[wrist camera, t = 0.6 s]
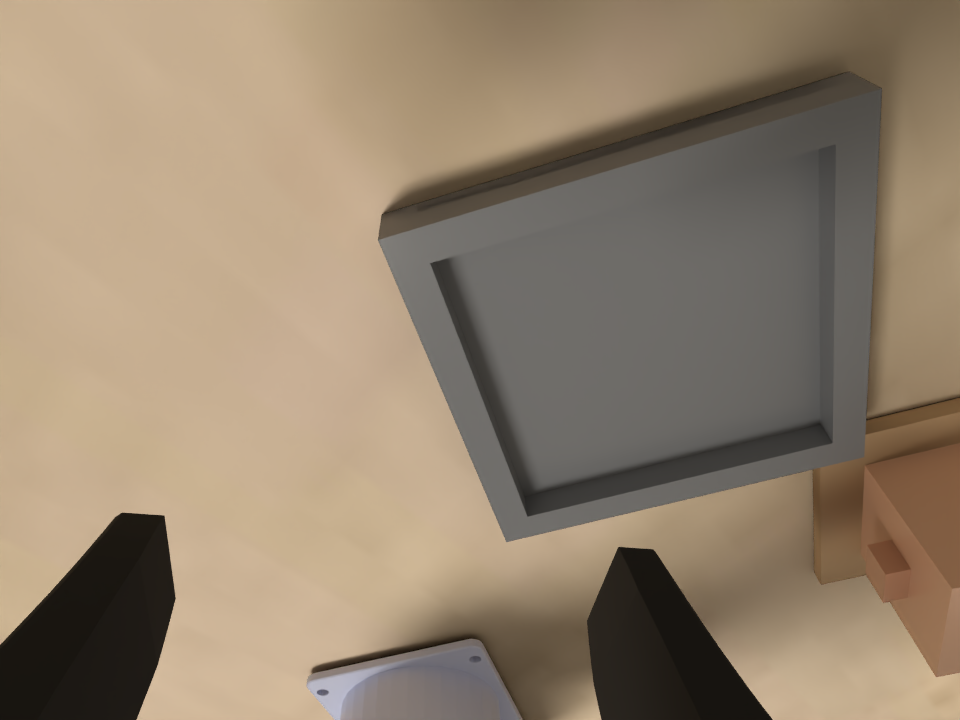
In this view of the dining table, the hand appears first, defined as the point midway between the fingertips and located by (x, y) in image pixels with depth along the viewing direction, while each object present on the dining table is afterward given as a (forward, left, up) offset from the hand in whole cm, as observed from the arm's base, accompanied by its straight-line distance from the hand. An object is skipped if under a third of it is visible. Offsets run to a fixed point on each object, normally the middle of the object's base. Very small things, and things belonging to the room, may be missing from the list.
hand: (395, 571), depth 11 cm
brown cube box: (-14, -15, -9) cm, 22 cm away
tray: (-4, -6, -10) cm, 12 cm away
